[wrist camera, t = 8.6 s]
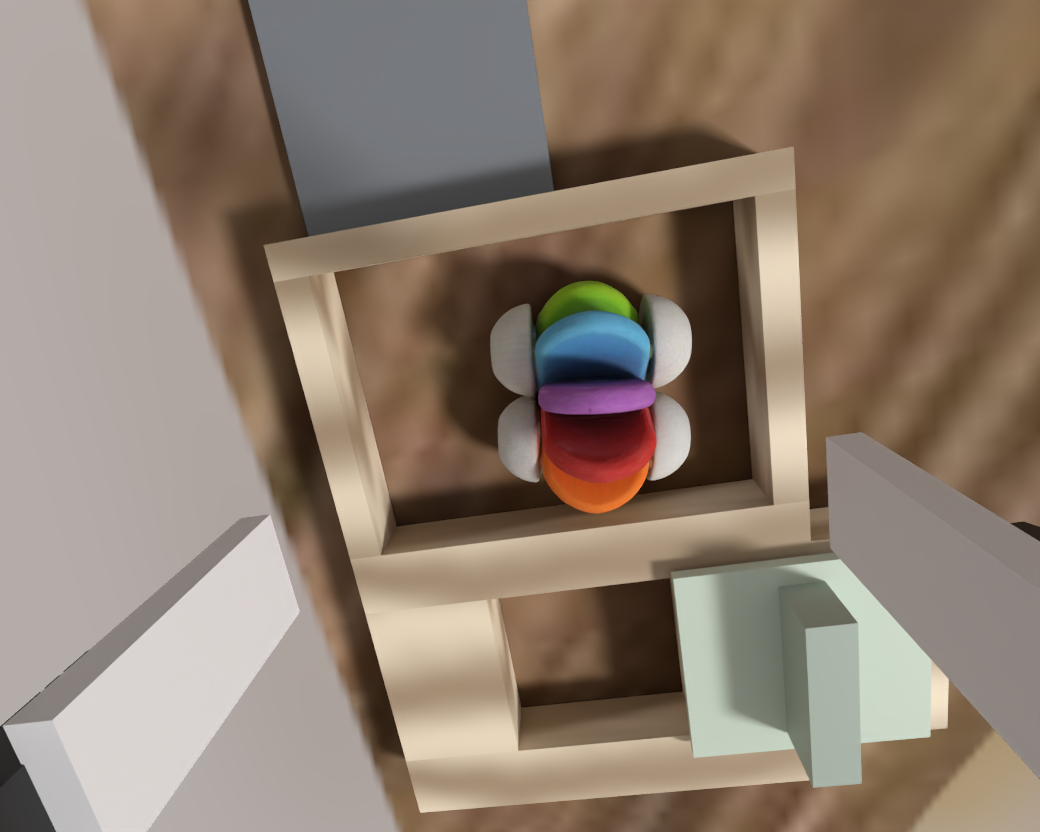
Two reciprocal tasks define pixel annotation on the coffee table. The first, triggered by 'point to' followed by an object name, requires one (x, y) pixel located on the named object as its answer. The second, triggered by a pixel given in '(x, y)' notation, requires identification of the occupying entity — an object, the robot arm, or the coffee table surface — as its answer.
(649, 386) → the rainbow toy vehicle
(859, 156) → the coffee table surface
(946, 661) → the robot arm
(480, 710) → the board
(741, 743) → the lid
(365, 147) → the mat
